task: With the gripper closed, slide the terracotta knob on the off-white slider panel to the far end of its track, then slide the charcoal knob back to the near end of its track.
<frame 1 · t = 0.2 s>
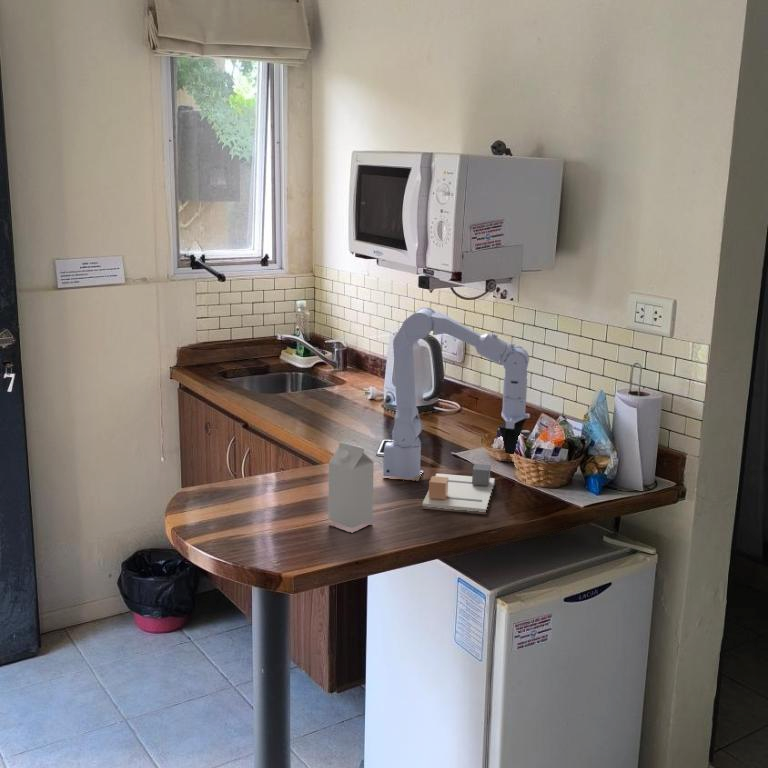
hand: (511, 448, 231), 10 cm above the worktop, tool pointing down, fingers open, 7 cm apart
milk carton: (350, 526, 207), on the worktop
slider panel: (459, 496, 226), on the worktop
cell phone: (392, 450, 262), on the worktop
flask: (511, 461, 254), on the worktop
terracotta slider: (438, 487, 220), point 4 cm above the worktop, slide at 0.0 cm
charcoal slider: (481, 474, 230), point 4 cm above the worktop, slide at 9.0 cm
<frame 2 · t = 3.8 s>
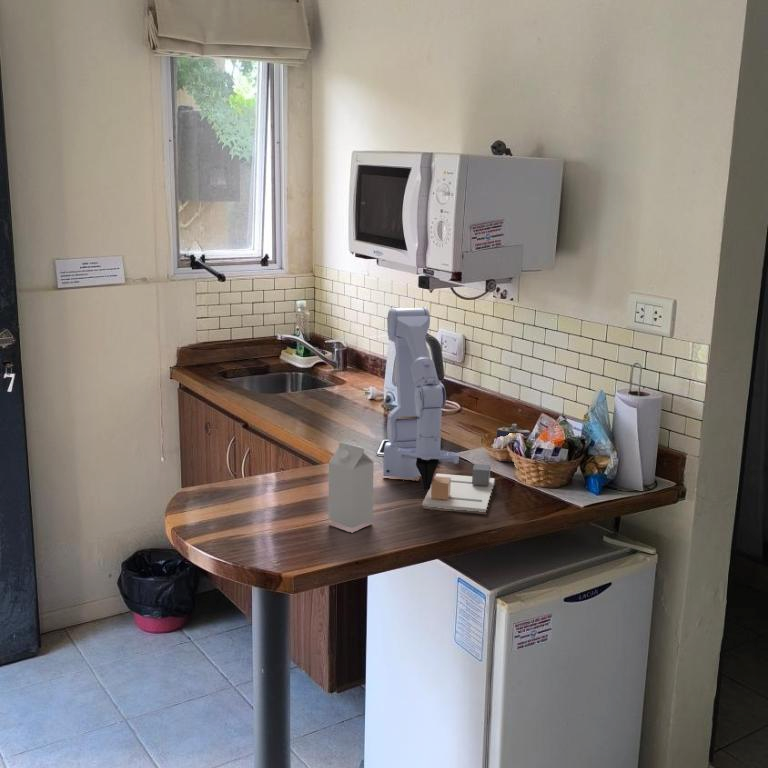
hand: (427, 488, 221), 3 cm above the worktop, tool pointing down, fingers closed
terracotta slider: (441, 487, 220), point 4 cm above the worktop, slide at 0.6 cm, touching gripper
everything else where it was.
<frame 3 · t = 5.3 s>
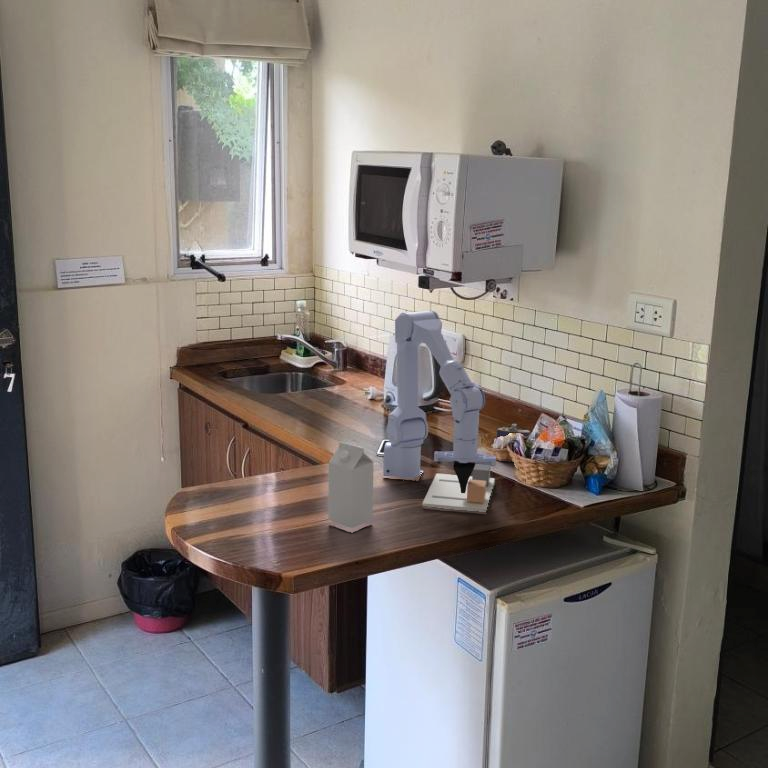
hand: (463, 491, 219), 3 cm above the worktop, tool pointing down, fingers closed
terracotta slider: (476, 491, 219), point 4 cm above the worktop, slide at 9.2 cm, touching gripper
everything else where it was.
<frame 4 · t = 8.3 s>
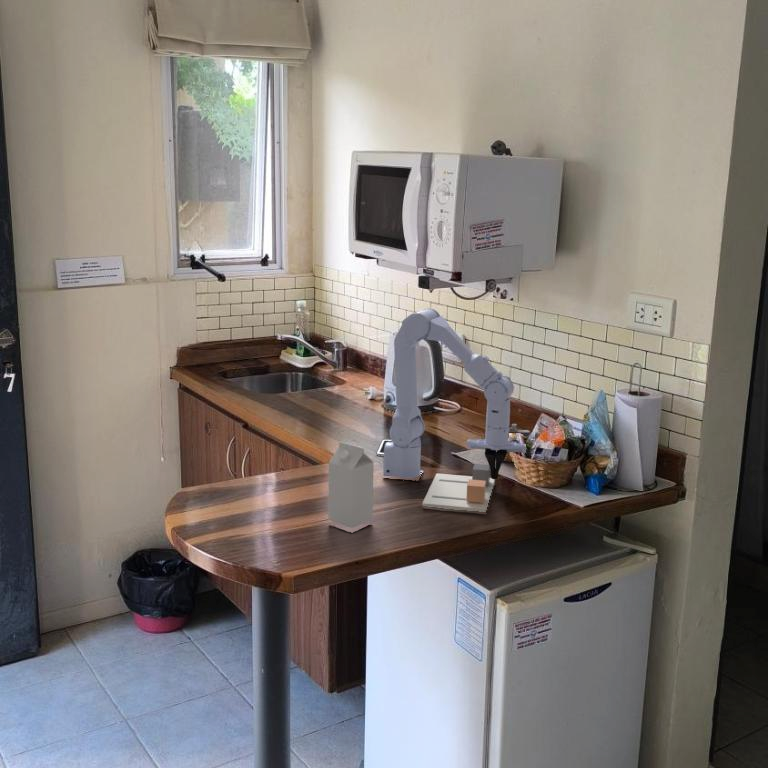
hand: (494, 477, 230), 3 cm above the worktop, tool pointing down, fingers closed
terracotta slider: (476, 490, 219), point 4 cm above the worktop, slide at 9.1 cm
charcoal slider: (481, 474, 230), point 4 cm above the worktop, slide at 9.0 cm, touching gripper
everything else where it was.
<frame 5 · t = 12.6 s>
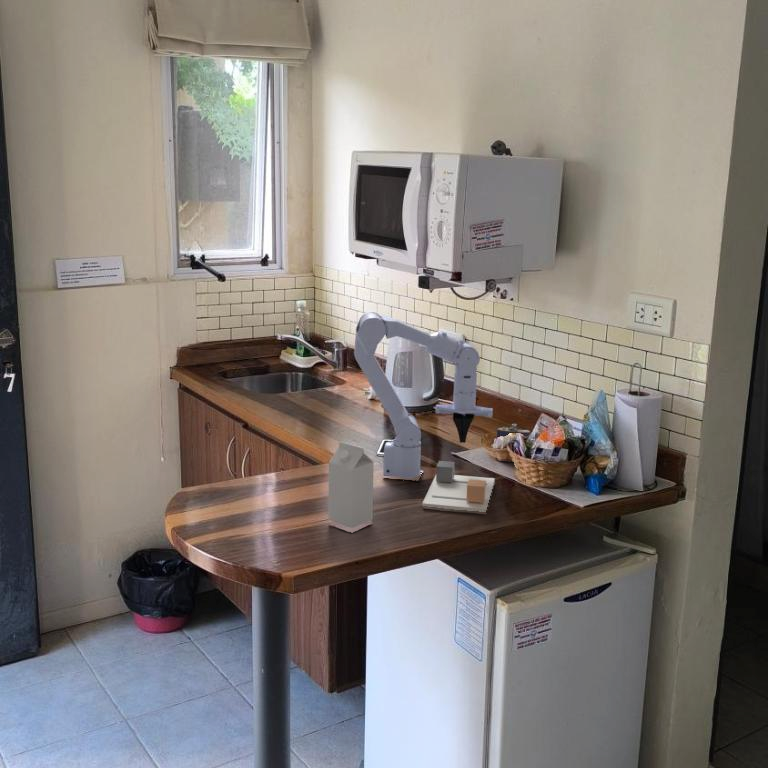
hand: (462, 441, 239), 9 cm above the worktop, tool pointing down, fingers closed
charcoal slider: (445, 471, 232), point 4 cm above the worktop, slide at -0.1 cm
everything else where it was.
at the end: terracotta slider slide at 9.1 cm; charcoal slider slide at -0.1 cm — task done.
